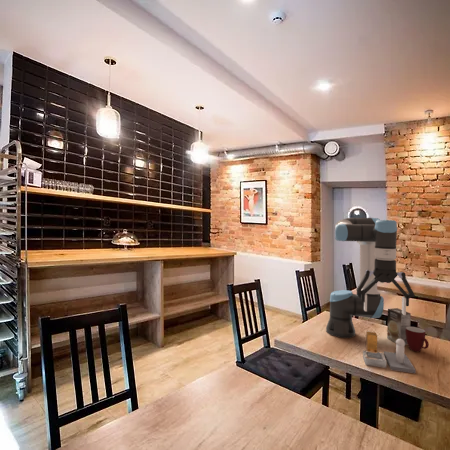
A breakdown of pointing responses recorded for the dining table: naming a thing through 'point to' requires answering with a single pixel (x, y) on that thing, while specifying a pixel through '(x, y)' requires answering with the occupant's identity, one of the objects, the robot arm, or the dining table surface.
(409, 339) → the mug
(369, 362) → the tray with orange handle
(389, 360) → the keeper board
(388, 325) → the coffee box
